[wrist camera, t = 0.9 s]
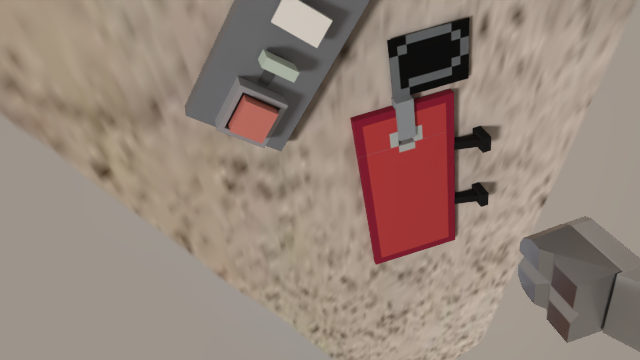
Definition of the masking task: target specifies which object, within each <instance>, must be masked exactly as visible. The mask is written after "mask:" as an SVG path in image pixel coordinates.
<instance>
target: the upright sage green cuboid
mask: <svg viewBox="0 0 640 360" xmlns="http://www.w3.org/2000/svg"><path fill="white" fill-rule="evenodd" d="M258 60H259V63H260V65H261V68H263V69H265V70H267V71H270V72H272V73H274V74H276V75H278V76H280V77H283V78H285V79H287V80H289V81H291V82H293V83H294V82H295V80H296V79H297V77H298V75H299V71H298V69H297V67H296V66H295V64H293V63H291V62H289V61H287V60H285V59H283V58H281V57H279V56H276V55H274V54H272V53H270V52H268V51H266V50H264V49H263V50H262V52H261V54H260V56H259V58H258Z"/></svg>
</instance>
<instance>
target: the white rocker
mask: <svg viewBox="0 0 640 360" xmlns="http://www.w3.org/2000/svg"><path fill="white" fill-rule="evenodd" d="M332 21H333V20H332V19H331V18H329V17H328V16H326V15H324V14H323V13H321V12H319V11H318V10H316V9H314V8H313V7H311V6H309V5H308V4H306V3H304V2H302V1H301V0H281V2H280V4H279V6H278V8H277V9H276V11H275V13H274V15H273V17H272V19H271V23H273V24H275V25H277V26H279V27H280V28H282V29H284V30H286V31H287V32H289V33H291V34H293V35H294V36H296V37H298V38H300V39H302V40H303V41H305V42H307V43H309V44H310V45H312V46H314V47H316V48H318V46H319V44H320V42H321V40H322V39H323V37H324V35H325V33H326V32H327V30H328V28H329V26H330V25H331V23H332Z"/></svg>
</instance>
